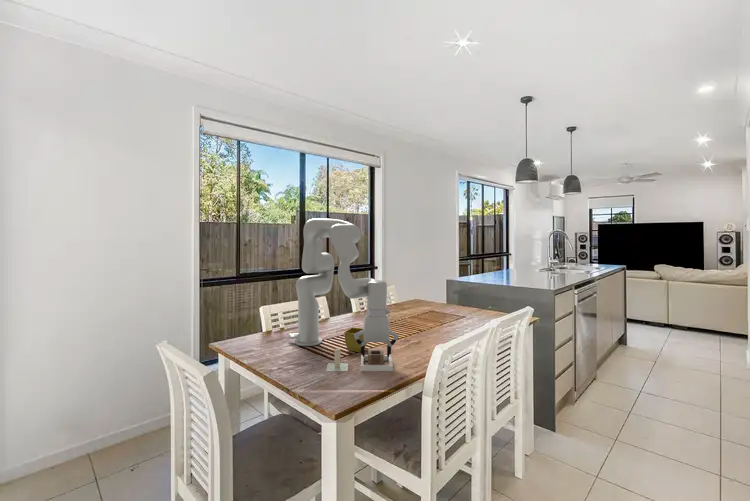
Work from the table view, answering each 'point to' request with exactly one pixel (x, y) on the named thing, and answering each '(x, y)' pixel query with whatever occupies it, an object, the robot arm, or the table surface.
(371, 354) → the napkin ring
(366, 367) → the light grey square frame
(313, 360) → the table surface
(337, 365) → the peg stand
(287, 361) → the table surface
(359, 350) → the flower pot
